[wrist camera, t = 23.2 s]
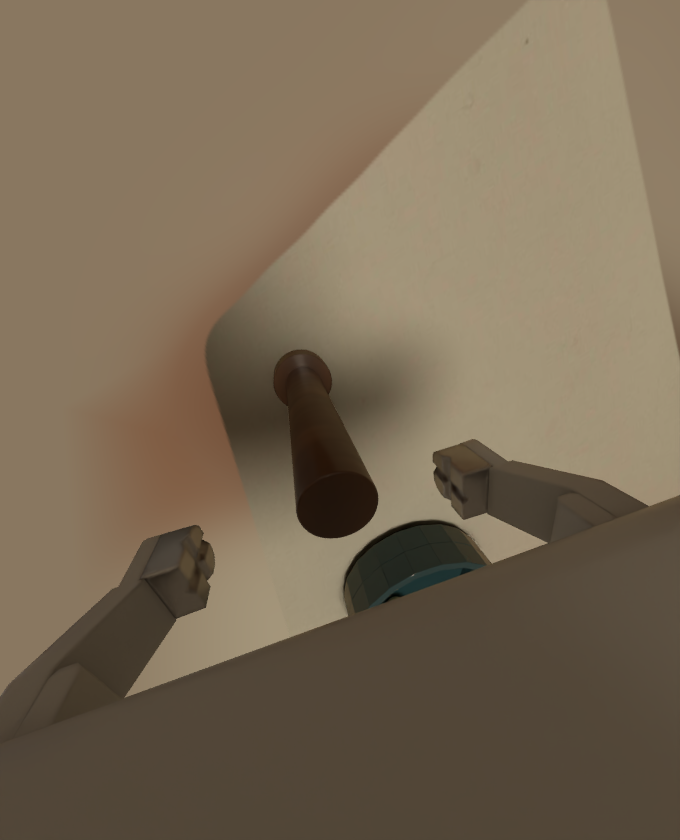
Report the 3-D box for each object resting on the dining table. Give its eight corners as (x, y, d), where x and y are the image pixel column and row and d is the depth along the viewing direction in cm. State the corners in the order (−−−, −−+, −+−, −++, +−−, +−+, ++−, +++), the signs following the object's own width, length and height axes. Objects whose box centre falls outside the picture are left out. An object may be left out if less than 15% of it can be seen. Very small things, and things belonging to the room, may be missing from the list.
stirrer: (282, 407, 24) (287, 575, 9) (267, 356, 22) (245, 467, 7) (332, 395, 24) (410, 537, 10) (321, 344, 22) (399, 428, 8)
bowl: (356, 634, 39) (368, 688, 33) (329, 547, 31) (340, 599, 26) (472, 593, 40) (502, 638, 35) (473, 501, 33) (511, 541, 28)
